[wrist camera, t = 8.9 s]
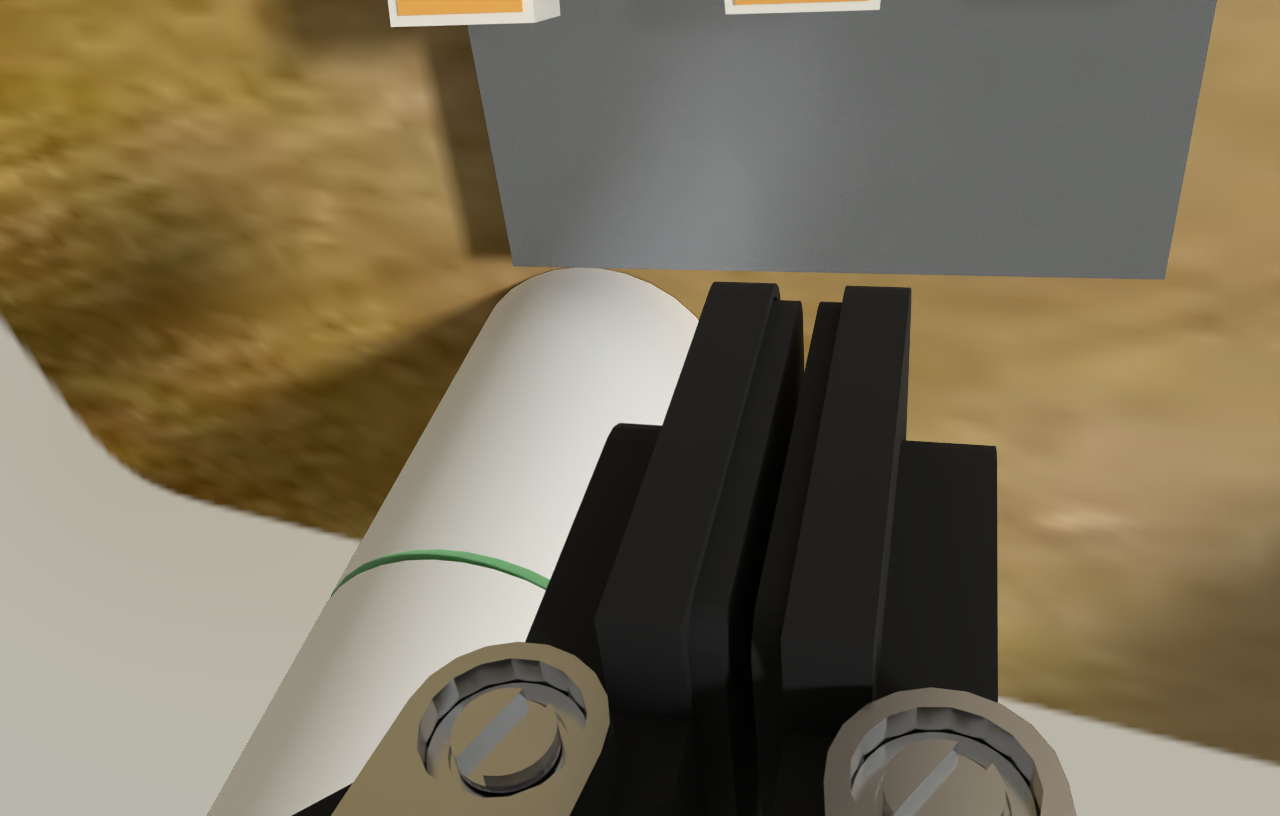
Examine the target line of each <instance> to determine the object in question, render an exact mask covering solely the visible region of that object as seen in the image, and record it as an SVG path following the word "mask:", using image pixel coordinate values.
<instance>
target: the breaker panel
mask: <svg viewBox="0 0 1280 816" xmlns="http://www.w3.org/2000/svg"><path fill="white" fill-rule="evenodd" d="M559 2H560V16H557V17H554V18H550V19H547V20H543V21H539V22H536V23H511V24H477V25H467V27H468V32H469V37H470V42H471V48H472V53H473V58H474V63H475V68H476V74H477V79H478V84H479V89H480V94H481V100H482V105H483V110H484V115H485V120H486V126H487V131H488V136H489V141H490V146H491V152H492V157H493V162H494V167H495V172H496V178H497V183H498V188H499V193H500V199H501V204H502V209H503V214H504V219H505V225H506V230H507V235H508V240H509V245H510V251H511V256H512V261H513V266H527V267H576V268H626V269H675V270H724V271H774V272H823V273H873V274H922V275H972V276H1021V277H1071V278H1120V279H1164V278H1165V273H1166V268H1167V262H1168V257H1169V252H1170V246H1171V241H1172V236H1173V230H1174V225H1175V220H1176V214H1177V209H1178V204H1179V199H1180V193H1181V188H1182V183H1183V177H1184V172H1185V167H1186V161H1187V156H1188V151H1189V145H1190V140H1191V135H1192V130H1193V124H1194V119H1195V114H1196V108H1197V103H1198V98H1199V92H1200V87H1201V82H1202V77H1203V71H1204V66H1205V61H1206V55H1207V50H1208V45H1209V39H1210V34H1211V29H1212V23H1213V18H1214V13H1215V8H1216V2H1217V0H881V4H880V10H859V11H826V12H792V13H758V14H725V2H724V0H559Z"/></svg>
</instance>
